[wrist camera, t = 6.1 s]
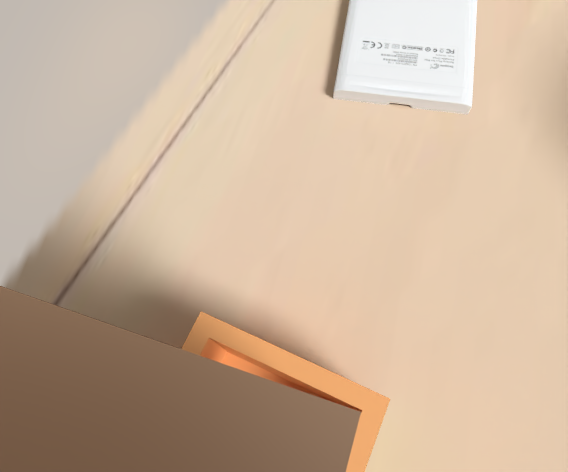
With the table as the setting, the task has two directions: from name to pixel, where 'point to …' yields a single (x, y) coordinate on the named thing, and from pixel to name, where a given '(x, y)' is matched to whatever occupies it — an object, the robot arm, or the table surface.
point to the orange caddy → (291, 377)
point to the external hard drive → (409, 54)
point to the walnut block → (147, 404)
